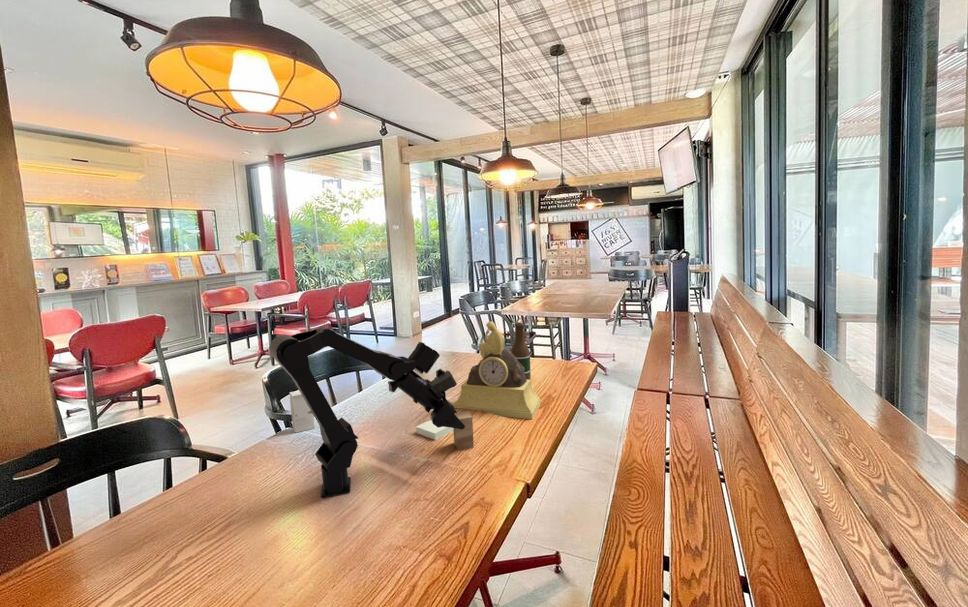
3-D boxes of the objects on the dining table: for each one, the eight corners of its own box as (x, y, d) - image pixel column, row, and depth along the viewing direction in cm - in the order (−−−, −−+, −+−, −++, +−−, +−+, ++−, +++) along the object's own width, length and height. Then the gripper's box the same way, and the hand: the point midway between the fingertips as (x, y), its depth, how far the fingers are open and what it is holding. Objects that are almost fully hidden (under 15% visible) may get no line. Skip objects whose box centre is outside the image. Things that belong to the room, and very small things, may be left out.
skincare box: (295, 433, 133) (290, 396, 131) (292, 428, 136) (288, 392, 135) (315, 428, 136) (311, 391, 134) (312, 423, 140) (308, 387, 138)
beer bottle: (509, 384, 170) (507, 325, 167) (513, 378, 177) (512, 321, 174) (528, 385, 168) (527, 325, 164) (532, 379, 175) (530, 321, 172)
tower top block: (454, 430, 127) (454, 423, 127) (435, 440, 121) (435, 433, 121) (435, 423, 132) (435, 417, 132) (416, 433, 126) (416, 426, 126)
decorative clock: (451, 411, 145) (446, 325, 141) (465, 398, 157) (461, 318, 153) (532, 419, 136) (529, 327, 132) (540, 404, 148) (538, 319, 144)
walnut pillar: (473, 452, 116) (472, 417, 115) (457, 455, 115) (455, 419, 113) (469, 444, 120) (468, 411, 119) (454, 447, 119) (452, 413, 118)
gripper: (443, 374, 104) (488, 410, 108) (431, 355, 121) (470, 387, 126) (413, 409, 103) (460, 444, 107) (405, 385, 120) (446, 416, 125)
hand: (460, 420), depth 116 cm, fingers open, 9 cm apart
